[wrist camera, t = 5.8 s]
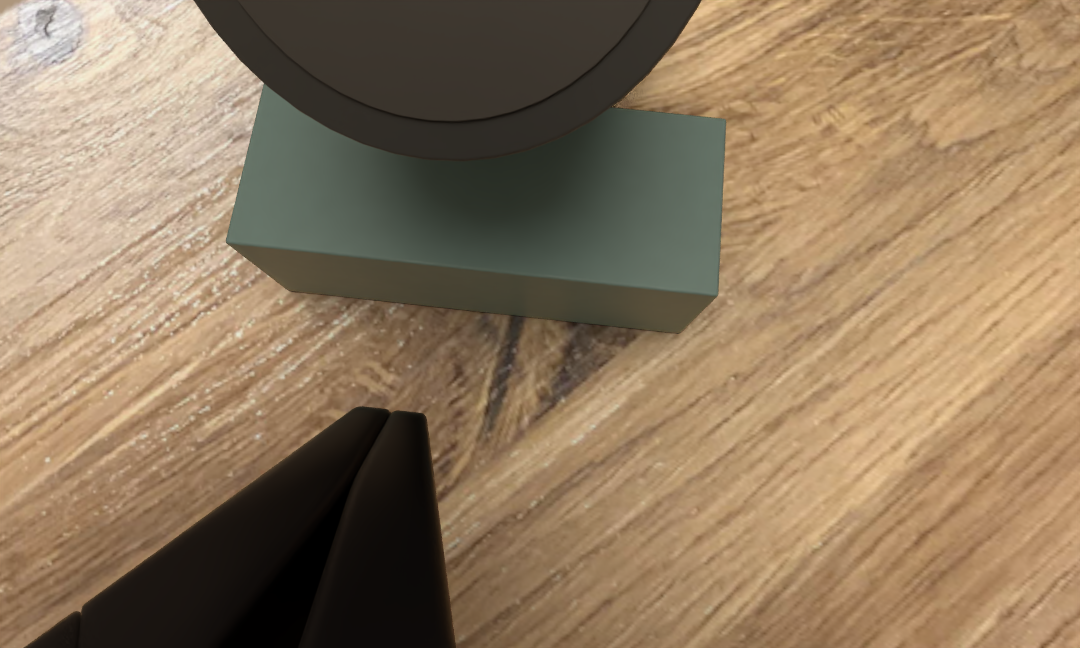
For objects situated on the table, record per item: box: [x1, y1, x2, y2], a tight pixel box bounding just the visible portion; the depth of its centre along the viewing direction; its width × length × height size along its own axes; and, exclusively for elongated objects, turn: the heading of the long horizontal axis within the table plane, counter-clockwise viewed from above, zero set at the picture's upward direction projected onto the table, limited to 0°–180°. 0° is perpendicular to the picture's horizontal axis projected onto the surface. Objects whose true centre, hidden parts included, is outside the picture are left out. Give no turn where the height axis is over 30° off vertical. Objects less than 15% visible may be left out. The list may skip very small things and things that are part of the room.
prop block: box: [226, 83, 726, 333], centre depth 15 cm, size 4×10×3 cm, turn 84°
